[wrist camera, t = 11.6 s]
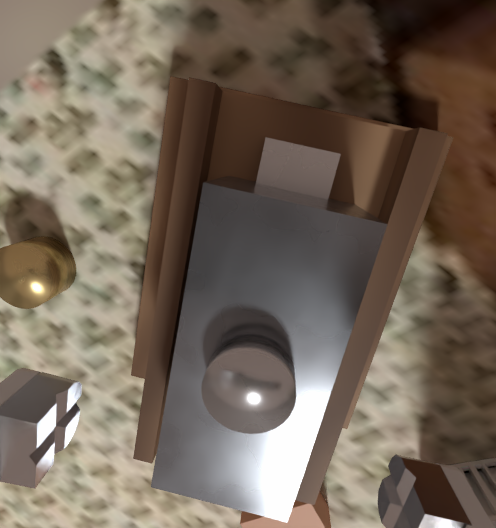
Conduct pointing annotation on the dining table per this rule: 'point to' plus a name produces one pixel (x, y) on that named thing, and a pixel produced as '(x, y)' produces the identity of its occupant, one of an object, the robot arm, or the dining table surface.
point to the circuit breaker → (482, 483)
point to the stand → (246, 167)
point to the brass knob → (35, 271)
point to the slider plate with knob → (262, 330)
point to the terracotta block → (293, 517)
